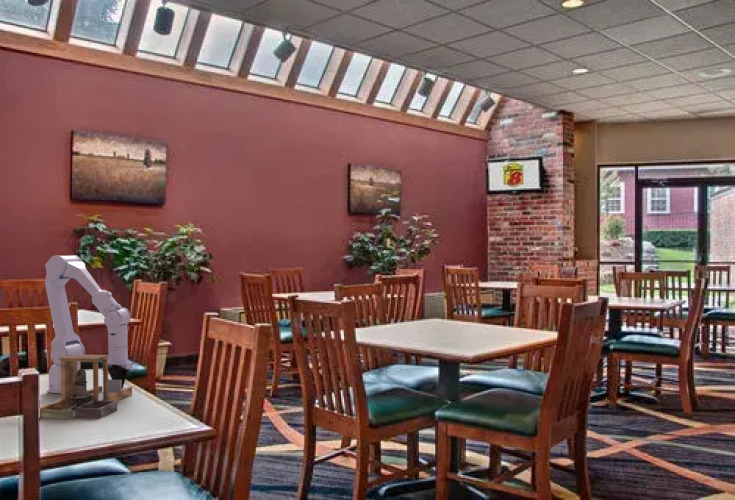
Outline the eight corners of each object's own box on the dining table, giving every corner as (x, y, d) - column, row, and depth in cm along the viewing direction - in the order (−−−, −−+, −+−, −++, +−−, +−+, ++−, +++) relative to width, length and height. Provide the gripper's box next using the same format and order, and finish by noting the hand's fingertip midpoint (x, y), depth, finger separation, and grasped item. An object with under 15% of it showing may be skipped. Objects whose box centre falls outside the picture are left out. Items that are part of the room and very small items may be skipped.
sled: (105, 393, 208) (105, 379, 208) (123, 394, 207) (122, 379, 207) (77, 404, 193) (77, 389, 193) (96, 405, 192) (95, 389, 192)
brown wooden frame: (98, 393, 209) (98, 347, 209) (151, 395, 206) (150, 348, 206) (35, 417, 179) (34, 364, 179) (95, 420, 176) (94, 365, 176)
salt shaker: (95, 405, 193) (95, 364, 193) (85, 410, 187) (85, 368, 187) (76, 405, 193) (76, 364, 193) (65, 410, 187) (65, 368, 187)
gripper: (94, 346, 211) (95, 388, 211) (117, 350, 202) (118, 394, 202) (115, 343, 217) (116, 384, 217) (138, 347, 207) (139, 390, 207)
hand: (118, 389), depth 210 cm, fingers closed
